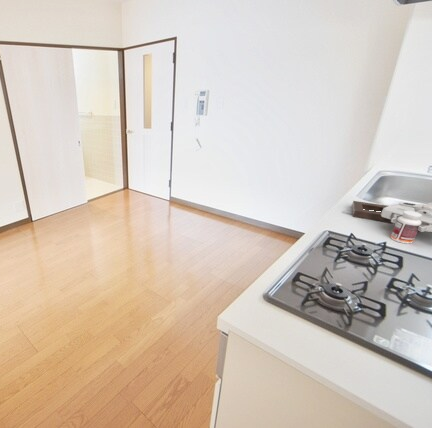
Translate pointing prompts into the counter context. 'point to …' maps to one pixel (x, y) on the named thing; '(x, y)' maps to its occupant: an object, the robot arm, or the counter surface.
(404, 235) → the pill bottle
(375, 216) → the holder
